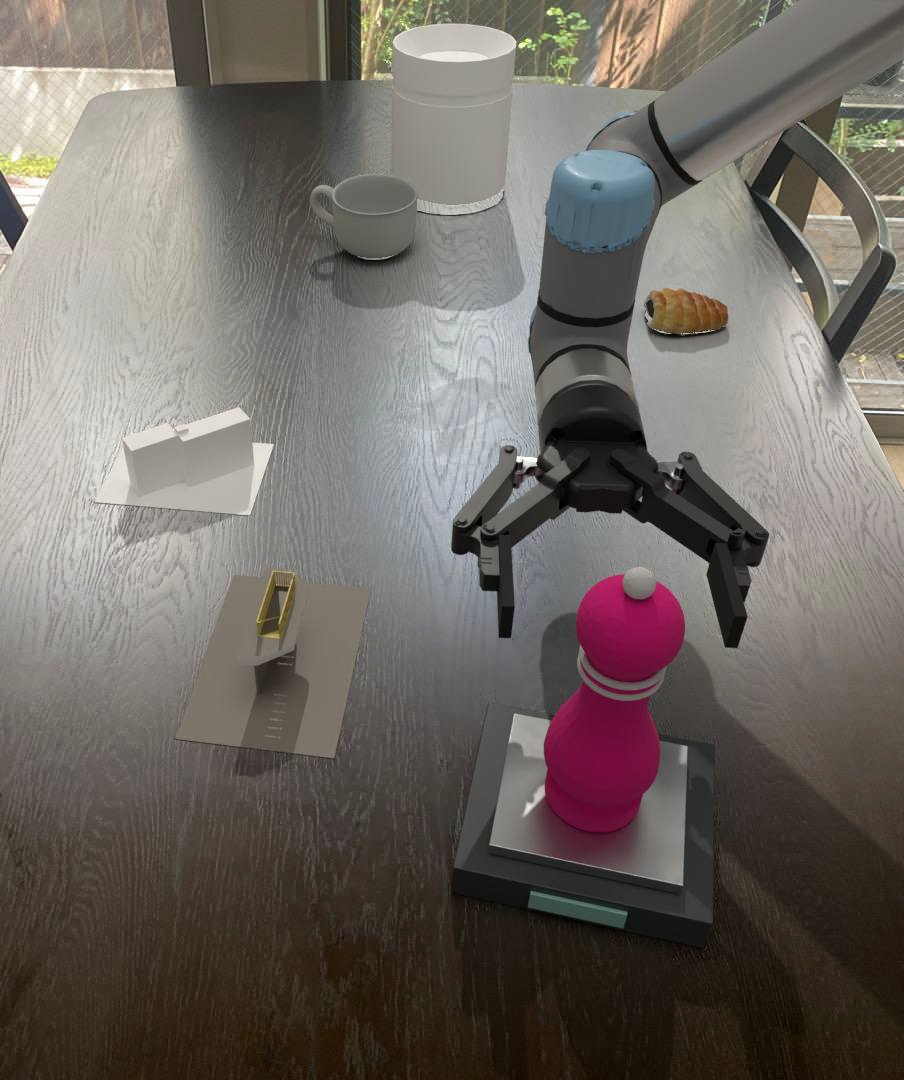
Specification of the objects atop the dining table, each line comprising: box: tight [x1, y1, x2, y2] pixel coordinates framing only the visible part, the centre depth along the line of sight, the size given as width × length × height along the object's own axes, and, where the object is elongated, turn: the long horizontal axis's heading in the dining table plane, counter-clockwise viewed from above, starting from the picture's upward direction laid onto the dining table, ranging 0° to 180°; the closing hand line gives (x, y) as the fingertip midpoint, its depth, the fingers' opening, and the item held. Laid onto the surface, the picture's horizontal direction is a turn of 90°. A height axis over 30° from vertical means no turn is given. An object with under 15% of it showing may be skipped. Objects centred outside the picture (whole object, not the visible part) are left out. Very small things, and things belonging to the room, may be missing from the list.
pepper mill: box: [544, 566, 686, 832], centre depth 65 cm, size 7×7×20 cm
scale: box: [450, 702, 716, 949], centre depth 73 cm, size 16×14×3 cm
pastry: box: [643, 287, 729, 335], centre depth 123 cm, size 9×7×4 cm
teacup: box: [309, 173, 418, 258], centre depth 137 cm, size 14×11×8 cm
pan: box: [488, 714, 688, 894], centre depth 72 cm, size 12×11×1 cm
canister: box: [390, 23, 518, 205], centre depth 146 cm, size 16×16×20 cm
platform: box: [174, 567, 372, 759], centre depth 84 cm, size 12×18×7 cm, turn 171°
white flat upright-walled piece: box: [94, 406, 275, 516], centre depth 102 cm, size 15×11×6 cm
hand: (620, 628), depth 65 cm, fingers open, 13 cm apart
